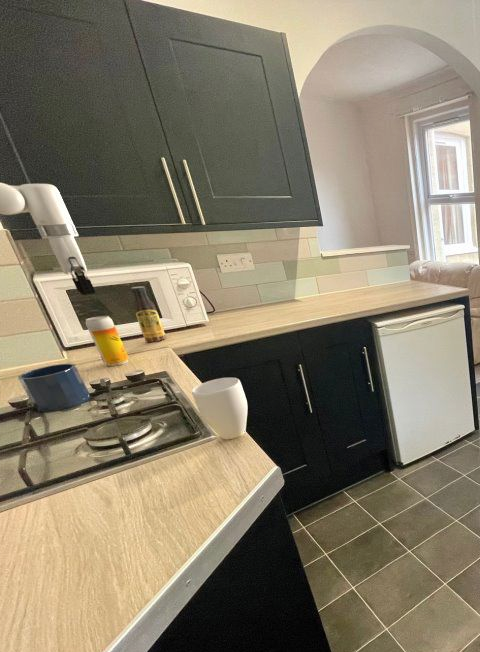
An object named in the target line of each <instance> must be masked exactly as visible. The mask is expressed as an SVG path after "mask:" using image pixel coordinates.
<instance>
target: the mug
mask: <svg viewBox="0 0 480 652" xmlns="http://www.w3.org/2000/svg"><path fill="white" fill-rule="evenodd" d="M191 395H192V397H193V400H194V403H195V405H196V407H197V411H198V412H199V415H200V417H201V418H202V419H203V421H204V422H205V423H206V424H207V425H208V426H209V427H210V428H211V429H212V430H213V431H214V432H215V433H216V434H217V435H218V436H219V437H220V438H221V439H222V440H233V439H236V438H239V437H241V436H243V435H245V433H246V429H247V421H248V420H247V419H248V411H249V410H248V401H247V398H246V394H245V391H244V388H243V385H242V382H241V380H240V379H239V378H237V377H221V378H216V379H211V380H208V381H204V382H203V383H200V384H198V385H196V386H195V387H194V388H192V389H191ZM243 430H244V431H245V432H244V431H243Z"/></svg>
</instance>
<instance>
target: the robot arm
mask: <svg viewBox="0 0 480 652" xmlns="http://www.w3.org/2000/svg"><path fill="white" fill-rule="evenodd" d="M60 193H61V192H60V191H59V190H58V188H57V187H56V186H55V185H53V184H50V183H24V184H20V185H10V184H7V183H4V182H0V215H5V216H10V215H11V216H12V215H18V214H23V213H24V214H25V213H29V215H30V216H31V218H32V220H33V222H34V224H35V226H36V229H37V230H38V233H39V234H40V236H41V239H43V240H44V239H47V240H48V242H49V245H50V247H51V249H52V251H53V254H54V256H55V258H56V260H57V262H58V264H59V266H60V268H61V270H62V272H63V274H64V275H69V274H70V275H71V279H72V282H73V284H74V287H75V288H76V290H77V292H79V294H80V295H81V296H85V295H86V296H87V295H94V294H96V292H97V291H96V290H95V288H94V286H93V283H92V281H91V279H90V278H89V277H88V275H87V272H88V268H87V265H86V262H85V260H84V257H83V255H82V252H81V250H80V247H79V245H78V243H77V241H76V239H75V237H79V236H80V235H79V233H78V231H77V228H76V226H75V224H74V222H73V220H72V218H71V215H70V213H69V211H68V209H67V206H66V204H65V202H64V200H63V197H62V195H61V194H60Z"/></svg>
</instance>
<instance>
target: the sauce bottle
mask: <svg viewBox="0 0 480 652" xmlns="http://www.w3.org/2000/svg"><path fill="white" fill-rule="evenodd" d="M130 291H131V293H132V295H133V298H134V302H133V310H134V312H135V317H136V319H137V322H138V325H139V327H140V330H141V333H142V336H143V337H144V340H145V342H146V343H155V342H160V340H161V341H164V340H165V339H166V333H165V331H164V327H163V324H162V321H161V318H160V316H159V313H158V310H157V308H156V305H155V303H154V302H153V301H152V300H150V298H149V296H148V293H147V288H146V287H145V286H132V287H130ZM163 339H164V340H163Z"/></svg>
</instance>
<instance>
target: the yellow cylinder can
mask: <svg viewBox="0 0 480 652" xmlns="http://www.w3.org/2000/svg"><path fill="white" fill-rule="evenodd" d="M85 326H86V328H87V330H88V332H89V334H90V336H91V338H92V340H93V341H92V342H93V343H94V345H95V347H96V350H97V351H98V353H99V355H100V357H101V360H102V362H103V364H104V365H105V366H107V367H117V366H122V365H125V364H127V363H128V362H129V360H130V357H129V355H128V353H127V351H126V349H125V348H126V347H125V345H124V344H123V341H122V339H121V336H120V335H119V333H118V330H117V328H116V326H115V324H114V322H113V319H112V318H111V317H110V316H109V315H99V316H92V317H89V318H86V319H85Z"/></svg>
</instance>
